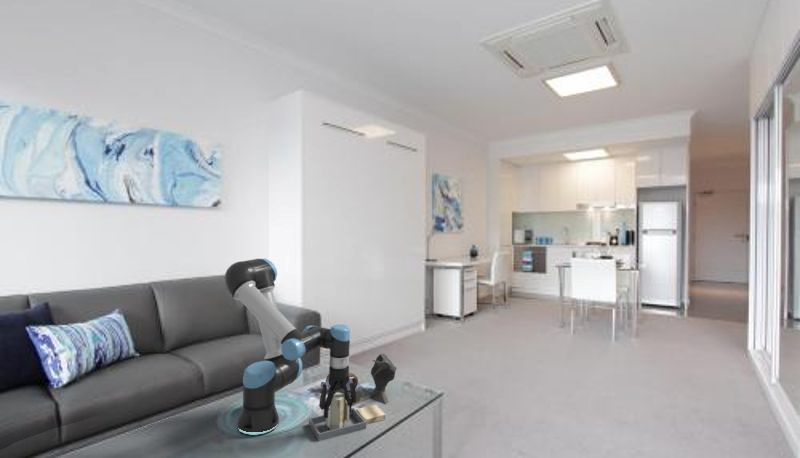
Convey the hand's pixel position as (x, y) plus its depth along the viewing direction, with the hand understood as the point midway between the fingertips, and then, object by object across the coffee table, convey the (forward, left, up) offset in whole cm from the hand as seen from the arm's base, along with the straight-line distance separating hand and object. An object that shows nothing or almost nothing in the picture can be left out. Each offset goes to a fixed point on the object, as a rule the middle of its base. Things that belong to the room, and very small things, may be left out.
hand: (337, 422), depth 159 cm
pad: (+15, +1, -2) cm, 15 cm away
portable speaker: (+13, +28, -2) cm, 31 cm away
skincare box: (0, 0, -2) cm, 2 cm away
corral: (0, 0, -2) cm, 2 cm away
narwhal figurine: (+29, +17, -2) cm, 34 cm away
